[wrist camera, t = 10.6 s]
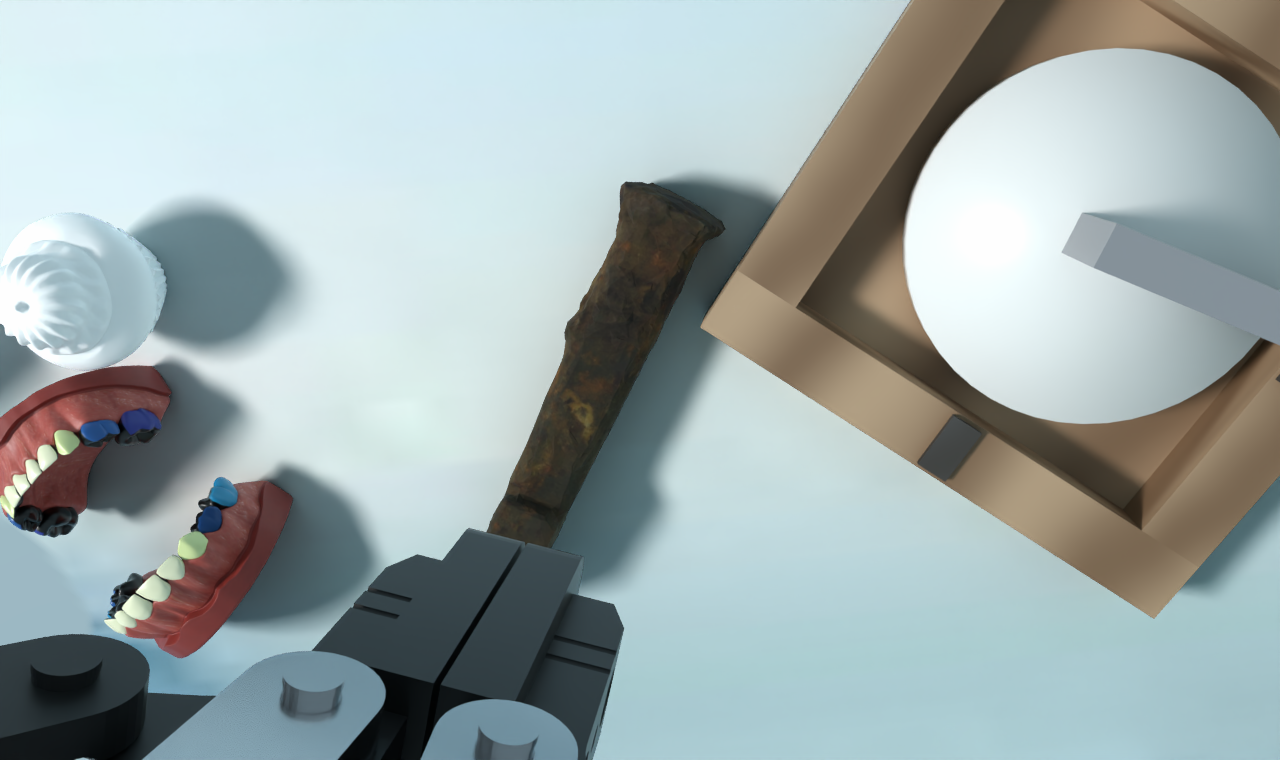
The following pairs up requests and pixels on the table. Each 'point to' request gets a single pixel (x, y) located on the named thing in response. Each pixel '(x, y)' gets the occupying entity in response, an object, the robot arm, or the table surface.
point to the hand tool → (603, 356)
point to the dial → (1098, 236)
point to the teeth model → (57, 492)
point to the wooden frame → (910, 363)
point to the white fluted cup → (80, 291)
